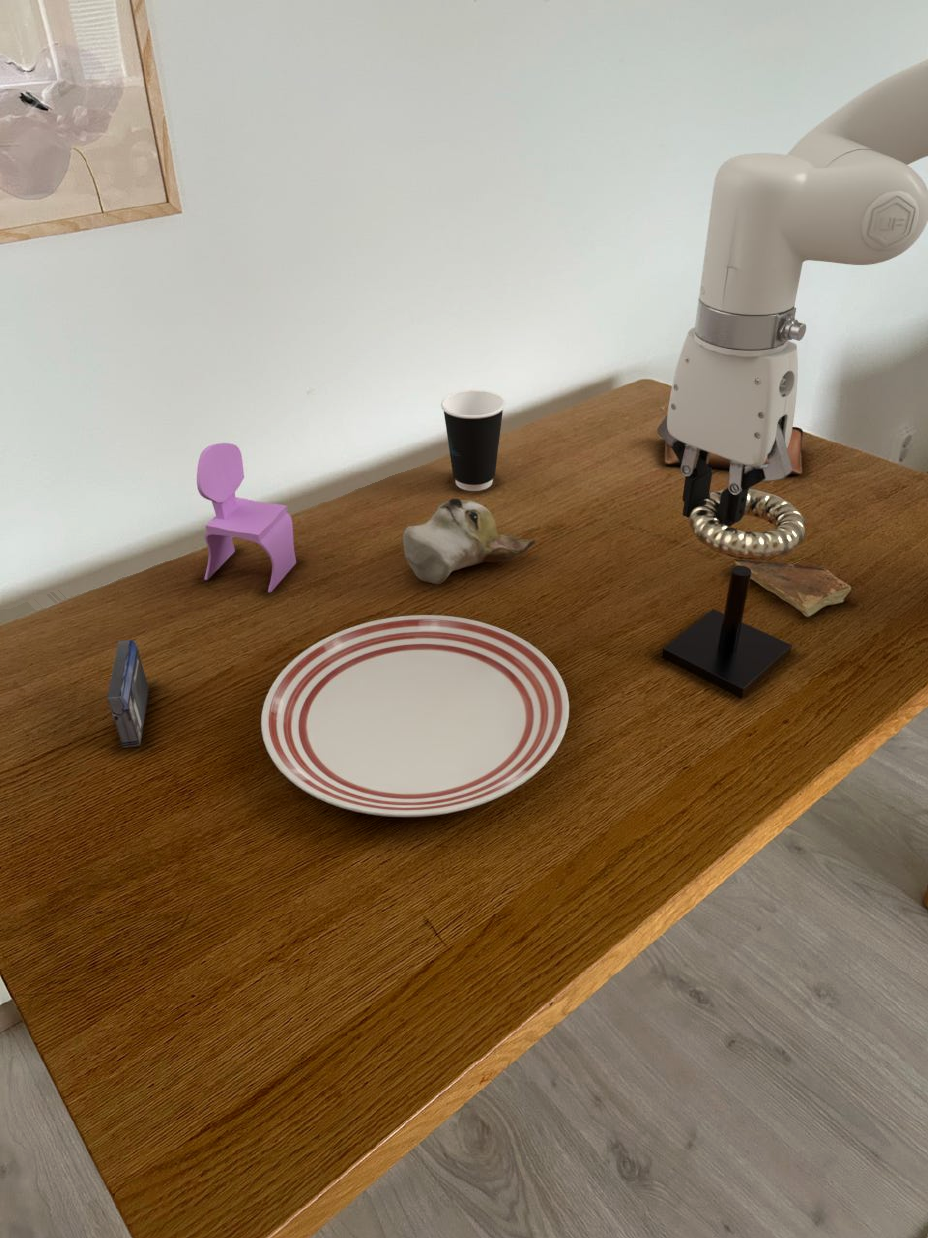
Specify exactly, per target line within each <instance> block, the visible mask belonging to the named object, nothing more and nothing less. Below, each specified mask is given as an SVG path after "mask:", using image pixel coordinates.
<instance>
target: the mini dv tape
mask: <svg viewBox="0 0 928 1238" xmlns="http://www.w3.org/2000/svg"><path fill="white" fill-rule="evenodd" d="M147 680H148V679H147V677H146V673H145V669H144V666H143V663H142V660H141V655H140V652H139V648H138V645H137V643H136V642H135V641H134V640H133V639H127V640H118V641H117V646H116V651H115V656H114V662H113V667H112V673H111V678H110V683H109V688H108V694H107V701H108V705H109V708H110V711H111V714H112V718H113V721H114V724H115V727H116V732H117V734H118V738H119V741H120V744H121V746H122V749H127V748H135V747H141V745H142V744H141V743H142V737H143V732H144V731H143V730H144V724H145V717H146V711H147V704H148V697H149V689H150V688H149V683H148V681H147Z"/></svg>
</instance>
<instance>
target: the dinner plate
mask: <svg viewBox="0 0 928 1238" xmlns="http://www.w3.org/2000/svg"><path fill="white" fill-rule="evenodd" d="M569 718H570V702H569V695H568V691H567V687H566V685H565V682H564V680H563V678H562V675H561V674H560V673H559V671H558V669H557V668H556V667H555V665H554V664H553V663H552V661H550V659H548V657H547V656H546V655H545V654H544V653H543V652H542V651H540V650H539V649H537V648H536V646H534V645H532V644H531V643H530V642H528V641H526V640H525V639H523V638H521V636H518V635H516V634H514V633H512V632H510V631H507V630H505V629H503V628H501V627H497V626H494V625H491V624H489V623H486V622H482V621H478V620H474V619H469V618H464V617H458V616H449V615H437V614H415V615H414V614H413V615H402V616H394V617H393V616H392V617H387V618H381V619H377V620H371V621H368V622H364V623H361V624H357V625H354V626H352V627H349V628H346V629H342V630H340V631H338V632H336V633H333V634H331V635H329V636H328V637H324V638H323V639H321V640H319V641H318V642H316V643H314V644H312V645H311V646H309V647H308V648H307V649H305V650H304V651H302V652H301V653H299V654H298V655H297V656H296V657H295V658H294V659H293V660H291V661H290V662H289V663H288V664H287V665H286V667H284V668H283V670H281V672H280V673H279V674H278V675H277V677H276V678H275V680H274V682H273V683H272V685H271V686H270V688H269V690H268V693H267V694H266V697H265V699H264V702H263V706H262V710H261V717H260V728H261V735H262V740H263V743H264V746H265V749H266V752H267V753H268V756H269V757H270V759H271V761H272V762H273V764H274V765H275V766H276V768H277V769H278V770H279V772H281V773H282V775H283V776H284V777H285V778H286V779H288V780H289V781H290V782H291V783H292V784H293V785H295V786H296V787H297V788H299V789H301V791H303V792H305V793H307V795H310V796H312V797H314V798H316V799H318V800H320V801H322V802H325V803H327V804H329V805H332V806H335V807H338V808H341V809H344V810H347V811H351V812H356V813H361V814H366V815H370V816H371V815H372V816H379V817H390V818H423V817H433V816H442V815H447V814H451V813H458V812H461V811H464V810H468V809H472V808H475V807H478V806H482V805H485V804H487V803H489V802H492V801H494V800H496V799H498V798H501V797H503V796H505V795H508V794H509V793H510V792H512V791H514V790H515V789H517V788H518V787H520V786H522V785H523V784H525V783H526V782H528V781H529V780H530V779H531V778H533V777H534V776H535V775H536V774H537V773H538V772H539V771H541V769H543V767H544V766H545V765H546V764H547V763H548V762H549V760H550V759H552V757H553V756H554V755H555V753H556V752H557V751H558V748H559V746H560V745H561V743H562V741H563V739H564V737H565V733H566V730H567V727H568V724H569Z"/></svg>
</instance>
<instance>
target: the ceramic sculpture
mask: <svg viewBox="0 0 928 1238" xmlns="http://www.w3.org/2000/svg"><path fill="white" fill-rule="evenodd" d="M402 540H403V553H404V557H405V559H406V561H407V563H408V565H409V567H410V569H411V570H412V572H413V573H414V575H415V576H416V577H417V578H418V580H420V581H422V582H425V583H430V584H433V585H441V584H443V583H444V582H445V580H446V579H447V578H448V577H450V574H451V573H452V572H454V571H458V570H461V569H463V568H468V567H471V566H474V565H478V564H480V563H481V564H482V563H484V562H485V563H501V562H502V563H505V562H511V561H512V560H515V559H516V558H517V557H519V556H521V555H522V554H524V553H525V552H526V551H527V550H528V549H530V547H532V545H534V543H535V542H536V539H534V538H530V539H529V538H526V539H525V538H520V537H518V536H515V535H514V534H513V535H512V534H499V533H498V530H497V525H496V518H495V517H494V515H493V513H492V512H491V511H490V510H489V509H488V508H487V507H485V506H484V505H482V504H480V503H479V502H477V501H474V500H471V499H461V500H460V499H459V498H451V499H450V500H449V501H446V502H444V503H442V504H440V505H439V506H438V507H437V508H436V511H435V512H434V514H433V515H432V516H431V518H430V519H429V520H428V521H427V522H426V523H423V524H419V525H410V526H407V527H406V528H405V530H404V532H403V535H402Z"/></svg>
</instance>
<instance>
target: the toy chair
mask: <svg viewBox="0 0 928 1238" xmlns="http://www.w3.org/2000/svg"><path fill="white" fill-rule="evenodd" d="M244 473H245V472H244V462H243V455H242V451H241V450H240V448H239V446H237V445H236V444H234V443H230V442H218V443H214V444H211V445H208V446H207V447H205V448H204V449H203V450H202V451H201V452H200V455H199V458H198V463H197V470H196V487H197V491H198V494H199V495H200V496H201V497H202V498H204V499H206V500H208V501H210V502H211V504H212V508H213V510H214V514H215V516H214V517H212V519H211V520H209V521H208V523H206V524H205V530H206V533H205V534H204V540H205V543H206V545H207V550H208V559H207V566H206V569H205V574H204V578H203V580H204V581H208V580H210V578H211V577H212V576H213V575H214V574H215V573H216V572H217V571H218V570H219V569H220V568H221V567H222V566H223V565H224V564H225V563H226V562H227V560H229V558H231V556H232V555H234V553H235V551H236V550H235V546H234V543H233V541H234V540H233V537H235V538H238V539H243V540H245V541H249V542H252V543H253V542H254V543H256V544H258V545H259V546H260V547H261V548H262V549H263V550H264V552H265V553H266V554H267V555H268V557H269V559H270V561H271V577H270V582H269V585H268V589H267V593H272V592H273V591H274V590H275V588H276V587H277V586H278V585H279V584H280V583H281V582H282V580H283V579H284V578H285V577H286V576H287V574H288V573H289V572H290V571H291V570H292V568H294V566H295V565H296V564H297V559H296V554H295V544H294V543H295V542H294V527H293V526H294V525H293V519H292V516H291V515H290V513H288V507H287V505H286V504H285V505H284V504H279V503H270V502H262V501H258V500H257V501H256V500H252V499H247V498H243V497H236V492H237V490H238V489H239V487H240V486H241V484H242V482H243V480H244V478H245V474H244Z"/></svg>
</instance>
